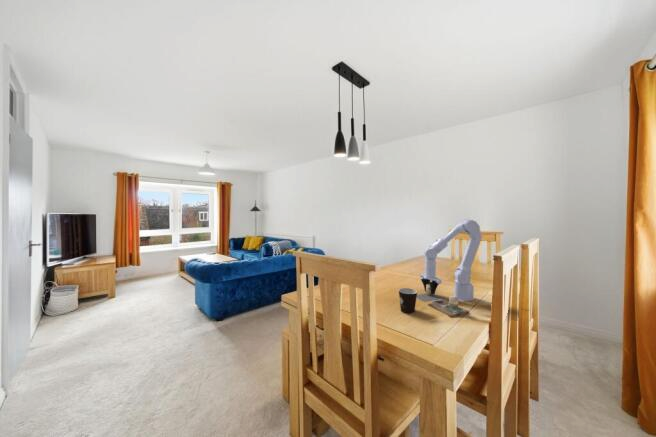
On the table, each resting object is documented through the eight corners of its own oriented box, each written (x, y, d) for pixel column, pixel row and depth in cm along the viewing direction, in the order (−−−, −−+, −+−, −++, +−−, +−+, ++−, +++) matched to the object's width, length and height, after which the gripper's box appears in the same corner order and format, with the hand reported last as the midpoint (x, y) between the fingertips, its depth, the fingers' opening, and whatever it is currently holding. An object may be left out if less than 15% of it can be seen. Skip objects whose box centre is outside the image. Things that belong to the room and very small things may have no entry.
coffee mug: (418, 315, 114) (418, 294, 113) (399, 313, 115) (399, 293, 115) (414, 305, 125) (414, 286, 125) (397, 304, 127) (397, 285, 126)
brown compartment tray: (445, 302, 129) (445, 298, 129) (469, 313, 116) (469, 308, 116) (427, 305, 125) (427, 301, 125) (450, 317, 112) (450, 312, 112)
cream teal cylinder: (460, 311, 116) (460, 298, 116) (453, 312, 115) (454, 300, 114) (453, 307, 120) (453, 296, 120) (446, 309, 119) (447, 297, 118)
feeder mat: (431, 293, 144) (431, 292, 144) (444, 299, 134) (444, 298, 134) (412, 296, 139) (412, 295, 139) (425, 302, 129) (425, 301, 129)
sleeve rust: (429, 293, 142) (430, 283, 142) (435, 295, 138) (435, 285, 138) (424, 294, 141) (424, 284, 140) (429, 296, 137) (429, 286, 137)
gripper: (415, 266, 144) (415, 289, 145) (434, 272, 131) (434, 297, 131) (425, 265, 147) (424, 288, 147) (444, 271, 133) (444, 296, 134)
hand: (429, 292), depth 139 cm, fingers closed on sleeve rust, 4 cm apart
